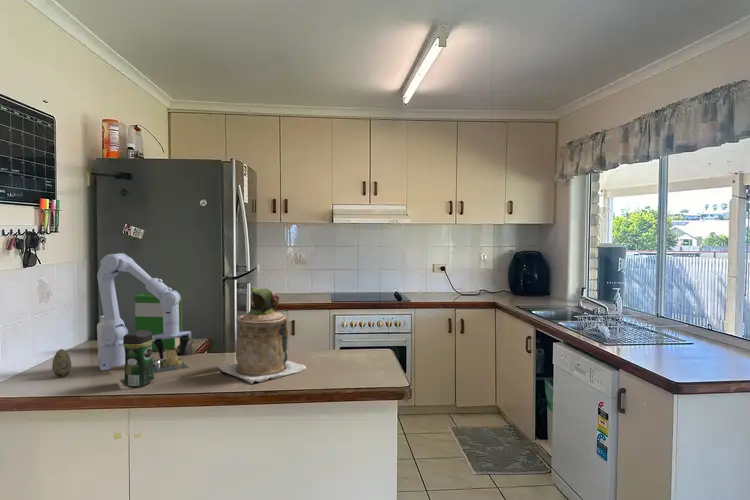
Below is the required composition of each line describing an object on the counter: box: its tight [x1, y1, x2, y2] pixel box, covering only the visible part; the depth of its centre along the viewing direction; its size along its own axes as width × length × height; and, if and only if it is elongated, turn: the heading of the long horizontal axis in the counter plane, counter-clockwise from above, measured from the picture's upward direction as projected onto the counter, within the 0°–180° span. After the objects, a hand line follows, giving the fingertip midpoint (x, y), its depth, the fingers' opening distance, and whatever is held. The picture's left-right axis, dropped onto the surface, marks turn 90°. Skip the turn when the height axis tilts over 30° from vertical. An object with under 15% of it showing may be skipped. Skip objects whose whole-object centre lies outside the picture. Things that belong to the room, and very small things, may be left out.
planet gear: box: [161, 348, 183, 366], centre depth 200 cm, size 7×7×6 cm
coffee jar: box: [123, 330, 155, 388], centre depth 178 cm, size 10×8×19 cm
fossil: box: [176, 336, 197, 356], centre depth 219 cm, size 11×9×10 cm
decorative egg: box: [51, 348, 72, 378], centre depth 187 cm, size 6×6×10 cm
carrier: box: [152, 357, 190, 374], centre depth 198 cm, size 15×17×4 cm
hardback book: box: [134, 293, 183, 352], centre depth 229 cm, size 18×7×24 cm, turn 84°
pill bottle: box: [96, 314, 105, 348], centre depth 228 cm, size 8×8×15 cm
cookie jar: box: [217, 286, 307, 384], centre depth 193 cm, size 25×25×32 cm
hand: (171, 356), depth 200 cm, fingers open, 7 cm apart
